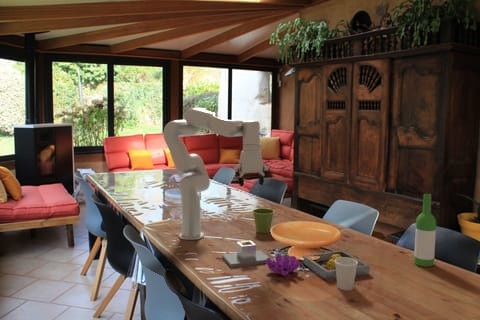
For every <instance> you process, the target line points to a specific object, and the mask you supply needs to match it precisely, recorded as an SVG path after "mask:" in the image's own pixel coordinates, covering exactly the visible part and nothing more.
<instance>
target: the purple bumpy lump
mask: <svg viewBox="0 0 480 320" xmlns="http://www.w3.org/2000/svg"><path fill="white" fill-rule="evenodd" d="M265 262H266V263H265V264H266V265H267V267H268V269H269V270H270V271H271V272H273V273H274V274H277V275H282V276H284V277H285V276H287V275H288V274H290V273H292V272H294V271H296V270H297V269H298V268H299V267H300V266H301V264H302V263H301V261H299V260H298V259H297V257H296V256H295V255H290V256H286V255H284V256H282V255H281V254H277V255H275V260H272V259H271V257H269V258H267V259H266V260H265Z"/></svg>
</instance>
